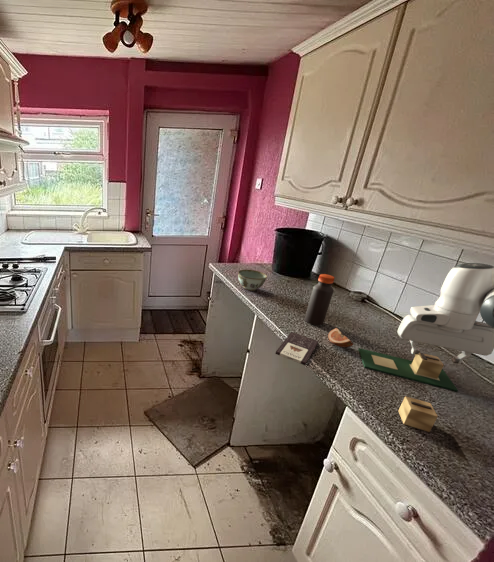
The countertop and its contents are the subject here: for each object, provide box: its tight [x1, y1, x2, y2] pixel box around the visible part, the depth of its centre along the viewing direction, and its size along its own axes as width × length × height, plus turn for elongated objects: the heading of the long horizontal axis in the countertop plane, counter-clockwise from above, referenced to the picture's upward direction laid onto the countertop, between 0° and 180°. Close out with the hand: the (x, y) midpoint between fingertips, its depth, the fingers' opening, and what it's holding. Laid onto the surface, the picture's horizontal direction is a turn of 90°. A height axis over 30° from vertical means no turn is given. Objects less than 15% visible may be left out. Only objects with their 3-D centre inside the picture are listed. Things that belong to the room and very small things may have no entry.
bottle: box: [304, 273, 335, 327], centre depth 123 cm, size 7×7×20 cm
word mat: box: [357, 347, 459, 392], centre depth 99 cm, size 22×12×1 cm, turn 62°
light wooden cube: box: [397, 396, 439, 433], centre depth 78 cm, size 5×5×5 cm
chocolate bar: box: [274, 331, 319, 366], centre depth 108 cm, size 9×1×18 cm
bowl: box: [237, 269, 268, 292], centre depth 157 cm, size 14×14×8 cm
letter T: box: [411, 352, 445, 379], centre depth 96 cm, size 5×5×5 cm
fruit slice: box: [327, 327, 354, 348], centre depth 110 cm, size 8×7×5 cm
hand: (434, 358), depth 94 cm, fingers open, 8 cm apart
